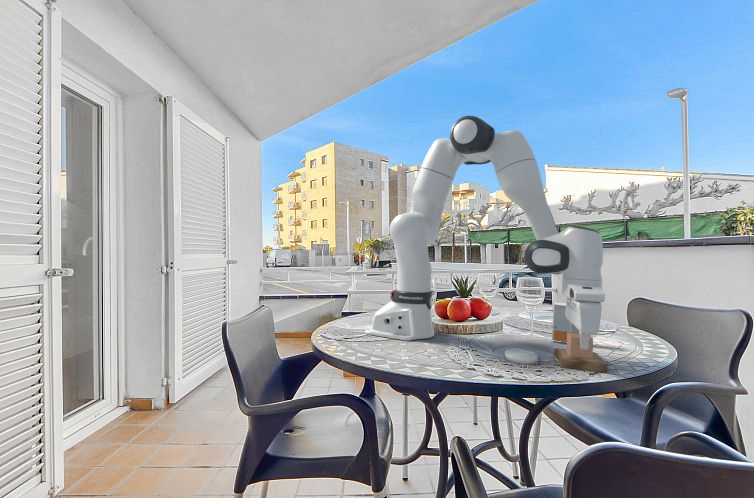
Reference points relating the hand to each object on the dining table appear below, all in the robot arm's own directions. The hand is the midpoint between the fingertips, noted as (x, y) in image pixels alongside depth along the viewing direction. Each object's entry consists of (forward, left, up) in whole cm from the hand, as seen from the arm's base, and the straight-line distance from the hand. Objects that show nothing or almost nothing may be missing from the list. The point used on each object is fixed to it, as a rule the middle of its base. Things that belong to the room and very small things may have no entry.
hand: (579, 343), depth 95 cm
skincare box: (0, +22, -5) cm, 23 cm away
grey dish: (-14, -2, -5) cm, 15 cm away
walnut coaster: (0, 0, -5) cm, 5 cm away
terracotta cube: (0, 0, -3) cm, 3 cm away
